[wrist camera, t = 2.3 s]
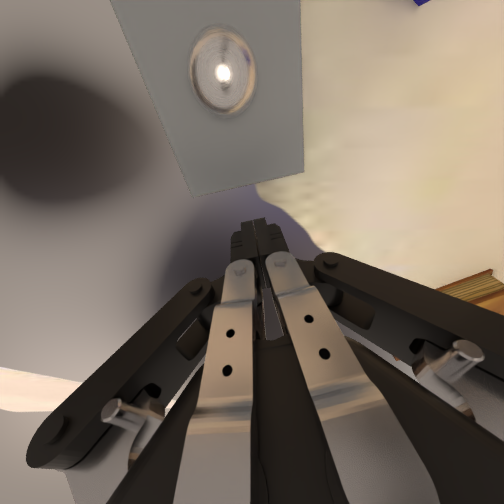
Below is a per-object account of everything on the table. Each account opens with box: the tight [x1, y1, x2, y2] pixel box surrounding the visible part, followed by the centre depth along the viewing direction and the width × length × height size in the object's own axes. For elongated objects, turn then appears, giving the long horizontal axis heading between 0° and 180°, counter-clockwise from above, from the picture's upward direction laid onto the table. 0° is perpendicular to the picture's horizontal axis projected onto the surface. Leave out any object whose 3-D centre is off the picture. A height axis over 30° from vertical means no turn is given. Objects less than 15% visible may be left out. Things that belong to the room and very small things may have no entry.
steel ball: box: [187, 23, 257, 118], centre depth 14 cm, size 5×5×5 cm
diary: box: [393, 269, 504, 361], centre depth 43 cm, size 23×19×6 cm
